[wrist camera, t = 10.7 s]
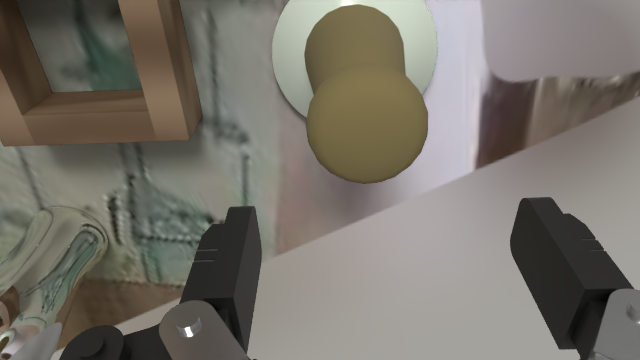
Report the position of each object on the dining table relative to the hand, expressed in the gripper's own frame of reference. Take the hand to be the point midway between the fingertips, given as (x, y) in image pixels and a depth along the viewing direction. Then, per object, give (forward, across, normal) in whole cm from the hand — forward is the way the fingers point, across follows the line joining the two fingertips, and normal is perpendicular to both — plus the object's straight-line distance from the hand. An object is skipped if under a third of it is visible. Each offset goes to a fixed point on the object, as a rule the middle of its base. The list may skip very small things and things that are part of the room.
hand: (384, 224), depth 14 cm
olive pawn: (+16, 0, 0) cm, 16 cm away
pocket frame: (+17, +16, -2) cm, 23 cm away
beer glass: (+17, +23, +14) cm, 32 cm away
